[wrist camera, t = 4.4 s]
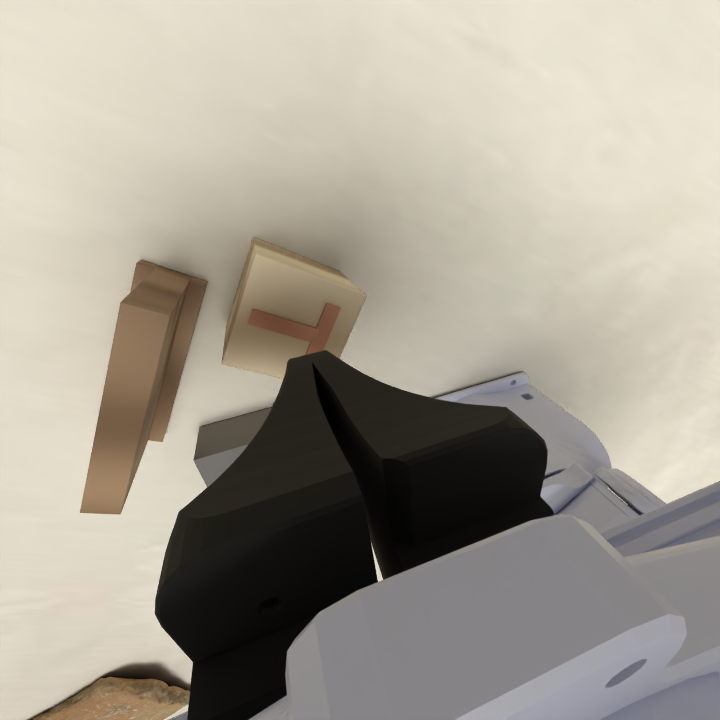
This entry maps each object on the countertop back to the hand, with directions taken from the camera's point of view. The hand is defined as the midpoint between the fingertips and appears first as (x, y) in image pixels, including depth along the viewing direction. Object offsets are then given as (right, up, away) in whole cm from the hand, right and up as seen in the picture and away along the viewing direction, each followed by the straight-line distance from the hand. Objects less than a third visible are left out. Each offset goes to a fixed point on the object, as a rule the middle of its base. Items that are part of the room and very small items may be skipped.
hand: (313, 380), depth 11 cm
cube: (-3, +4, +8) cm, 10 cm away
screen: (-10, +1, +7) cm, 12 cm away
